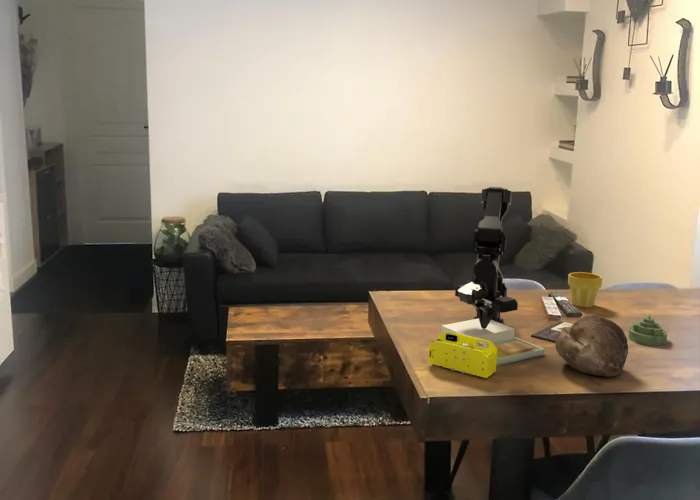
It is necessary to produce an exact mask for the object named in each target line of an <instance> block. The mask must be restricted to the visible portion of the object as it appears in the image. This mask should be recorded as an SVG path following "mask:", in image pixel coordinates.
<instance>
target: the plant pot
mask: <svg viewBox="0 0 700 500" xmlns="http://www.w3.org/2000/svg"><path fill="white" fill-rule="evenodd" d="M567 275H568V278H567V284H568V286H569V289H570V290H569V291H570V297H571V304H572V305H573V306H575V307H579V308H592V307H594V305H595V303H596V302H595V301H596V299H597V296H598V293H599V289H600V288H601V287H602V282H603V276H602V275H599V274H596V273H592V272H583V271H577V272H576V271H575V272H570V273H569V274H567Z"/></svg>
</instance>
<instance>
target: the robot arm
mask: <svg viewBox="0 0 700 500" xmlns="http://www.w3.org/2000/svg"><path fill="white" fill-rule="evenodd" d="M480 202H481V204H483V211H484V215H483V216H484V217H483V219H482V220H480V221H479V222H478V225H477V229H474V236H473V243H472V244H473V246H472V254H475V255H477V256H476V262H475V264H474V266H473V274H474V275H472V277H471V282H469V283H466V284H461V285H457V287H456V288H455V290H454V291H455V293H454V296H455V297H457V298H459V301H460V302H461V303H465V304H467V305H471V306H472V307H473V308H475V310H476V311H475V312H476V316H473V319H479V321H480V325H481V328H483V329H485V328H487V326H488V324H489V322H490V321H491V320H494V321H496V322H499V323H501V322H504V318H501V314H502V313H509V312H515V311H518V306H519V305H518V304H519V302H518V300H517V299H516V298H512V297H509V296H508V287H507V285H506V283H505V282H504V276H503V274H502V272H501V270H500V267H499V265H500V257H501V256H503V252H504V253H505V252H506V246H507V245H506V244H507V235H506V232H505V231H503V222H502V221H503V218H504V217H505V215H506V214H507V213H508V211H509V205H510V206H511V205H512V190H509V189H508V188H503V187H501V186H499V187H498V186H489V187H486V188H483V189H481V199H480Z"/></svg>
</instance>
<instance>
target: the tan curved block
mask: <svg viewBox="0 0 700 500" xmlns="http://www.w3.org/2000/svg"><path fill="white" fill-rule="evenodd" d="M495 346H496V348H497V356H498V357H501V358H502V357H506V356H511V355H515V354H519V353H524V352H528V351H533V349H534V347H532V346H529V345H527V344H524V343H522V342H519V341H513V342H508V343H504V344H499V345H495Z"/></svg>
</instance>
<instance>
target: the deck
mask: <svg viewBox="0 0 700 500" xmlns="http://www.w3.org/2000/svg"><path fill="white" fill-rule="evenodd" d="M440 327H441V328H440V334H442V333H443V332H445V331H449V332H453V333H457V334H462V335H466V336H471V337H475V338H479V339H484V340H488V341H491V342H493V341H497V340H502V339H507V338H512V337H516V336H515V335H516V328H514V327H512V326H509V325H506V324H504V323H501V322H496V321H494V320H491V321H490V322H489V324H488V326H487V328H485V329H483V328H481V325H480V321H479V319H474V318H473V319H469V320H464V321H457V322H453V323H448V324H441V326H440ZM450 335H451V334H450ZM485 343H487V342H485Z"/></svg>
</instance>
